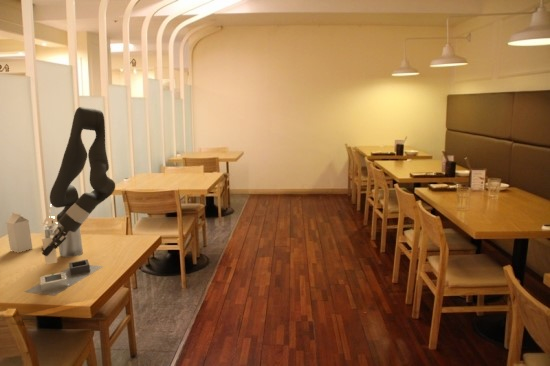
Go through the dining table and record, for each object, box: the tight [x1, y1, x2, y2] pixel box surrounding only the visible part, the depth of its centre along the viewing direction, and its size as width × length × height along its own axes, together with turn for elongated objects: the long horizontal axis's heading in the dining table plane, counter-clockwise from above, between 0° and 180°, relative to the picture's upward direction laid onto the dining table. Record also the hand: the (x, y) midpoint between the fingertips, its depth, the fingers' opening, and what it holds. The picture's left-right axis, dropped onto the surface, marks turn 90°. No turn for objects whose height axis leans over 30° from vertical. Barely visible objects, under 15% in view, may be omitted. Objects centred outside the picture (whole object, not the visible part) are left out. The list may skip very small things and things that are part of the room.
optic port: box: [39, 271, 69, 292], centre depth 165 cm, size 9×9×3 cm
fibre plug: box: [41, 228, 58, 265], centre depth 163 cm, size 4×4×13 cm
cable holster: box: [68, 259, 90, 275], centre depth 179 cm, size 7×7×3 cm
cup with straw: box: [42, 203, 58, 235], centre depth 220 cm, size 8×9×20 cm
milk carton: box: [5, 212, 33, 254], centre depth 209 cm, size 7×7×19 cm
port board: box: [24, 264, 104, 296], centre depth 172 cm, size 14×28×2 cm, turn 165°
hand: (44, 252), depth 162 cm, fingers closed on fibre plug, 4 cm apart
